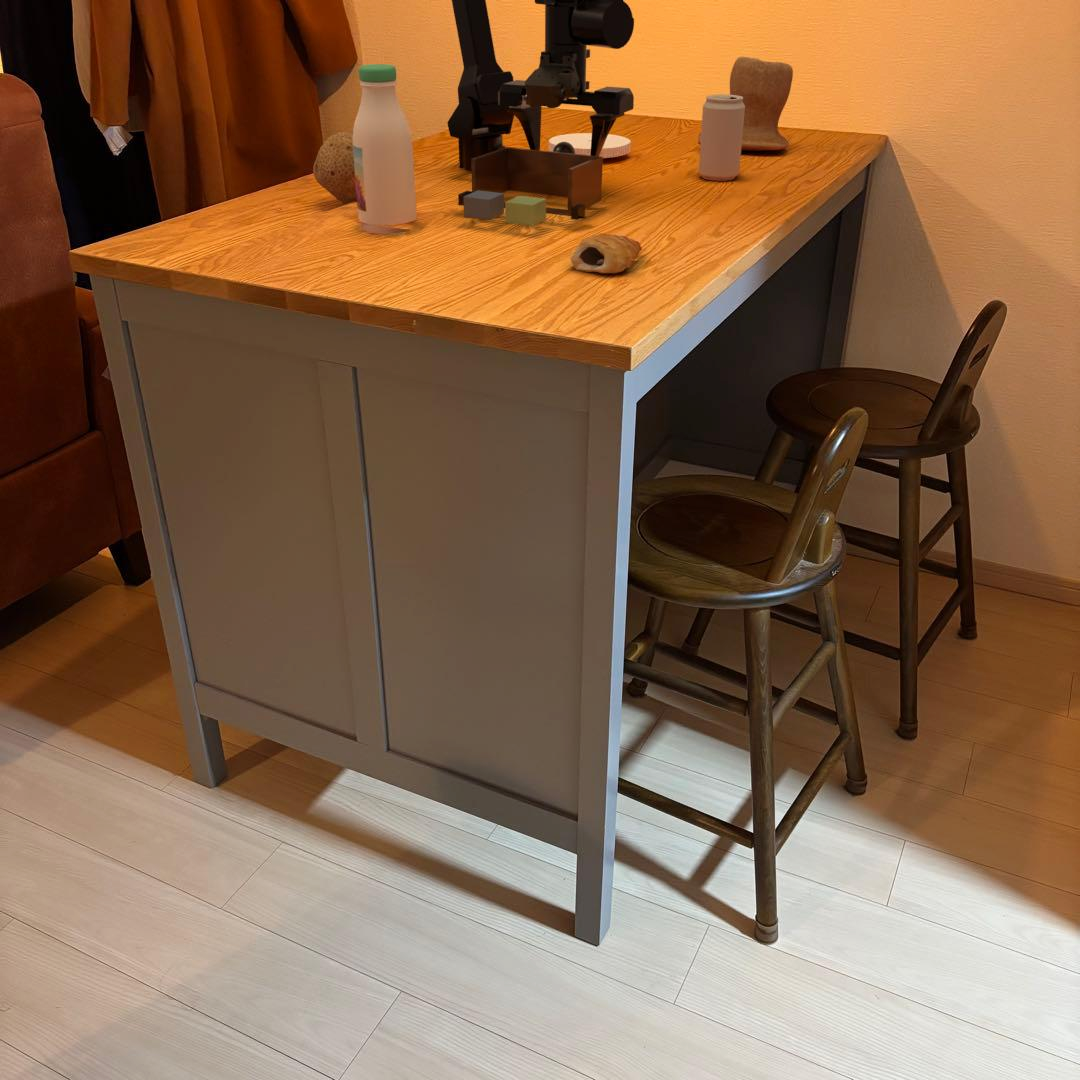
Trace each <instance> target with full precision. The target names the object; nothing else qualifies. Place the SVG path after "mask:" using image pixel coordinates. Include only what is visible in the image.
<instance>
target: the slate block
mask: <svg viewBox="0 0 1080 1080" xmlns="http://www.w3.org/2000/svg"><path fill="white" fill-rule="evenodd" d="M504 193H505V192H503V193H497V192H488V191H480V190H478V191H475V192H473V193H471V194H468V195H466V196H464V206H463V217H464V218H471V219H478V220H487V221H491V220H493V219H496V218H498V217H500V216H502V215H504V214H505V208H504V202H505V194H504Z"/></svg>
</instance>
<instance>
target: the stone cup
mask: <svg viewBox="0 0 1080 1080" xmlns="http://www.w3.org/2000/svg"><path fill="white" fill-rule="evenodd" d="M793 78H794V70H793V67H792V65H791V64H789V63H787V62H781V61H766V60H761V59H759V58H756V57H750V56H749V57H748V56H738V57H737V58H736V60H735V61H734V63H733V65H732V68H731V71H730V76H729V95H737V96H742V97H743V100H742V101H743V103H744V105H745V113H744V124H743V135H742V147H741V152H743V151H744V152H762V151H763V152H764V151H779V150H783V149H786V148H787V147H788V146H789V140H788V139H787V138H786V137H785V136H783V135H781V134H780V132H779V128H778V127H779V121H780V117H781V115H782V113H783V110H784V108H785V106H786V104H787V102H788V99H789V96H790V93H791V87H792V83H793ZM697 137H698V139H697V143H698V145H700V143H701V131H700V132H699V134H698V136H697Z"/></svg>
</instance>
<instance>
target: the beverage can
mask: <svg viewBox="0 0 1080 1080" xmlns="http://www.w3.org/2000/svg"><path fill="white" fill-rule="evenodd" d="M742 100H743V97H742V96H737V95H730V94H722V93H721V94H710V95H707V96H706V97H705V102H704V103H703V105H702V115H701V131H700V132H701V143H700V144H699V159H698V174H699V175H700V176H701V177H702V179H704V180H707V181H716V182H717V181H719V182H724V181H732V180H734V179H735V178H736V177H738V175H740V169H741V158H742V157H741V156H742V151H741V147H742V135H743V124H744V113H745V105H744V103H743V101H742Z"/></svg>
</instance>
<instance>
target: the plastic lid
mask: <svg viewBox="0 0 1080 1080" xmlns="http://www.w3.org/2000/svg"><path fill="white" fill-rule="evenodd" d="M591 140H592V132H581V133H580V132H578V133H575V132H574V133H567V134H566V133H565V134H560V135H555V136H553V137H550V138H549V139H548V151H551V152H553V150H554V147H555V146H556V145H557V144H558V143H560V142H568V143H570V144H571V145H572V146H573V147H574V150H575V154H581V155H590V153H591ZM631 145H632V141H631V139H630V138H628V137H626V136H621V135H618V134H617V135H616V134H610V133H609V134H608V136H607V138H606V140H605V143H604V145H603V148H602V150H601V153H600V155H599V156H601V157H603V159H608V158H617V157H621V156H625V155H627V154H630V152H631Z"/></svg>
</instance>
